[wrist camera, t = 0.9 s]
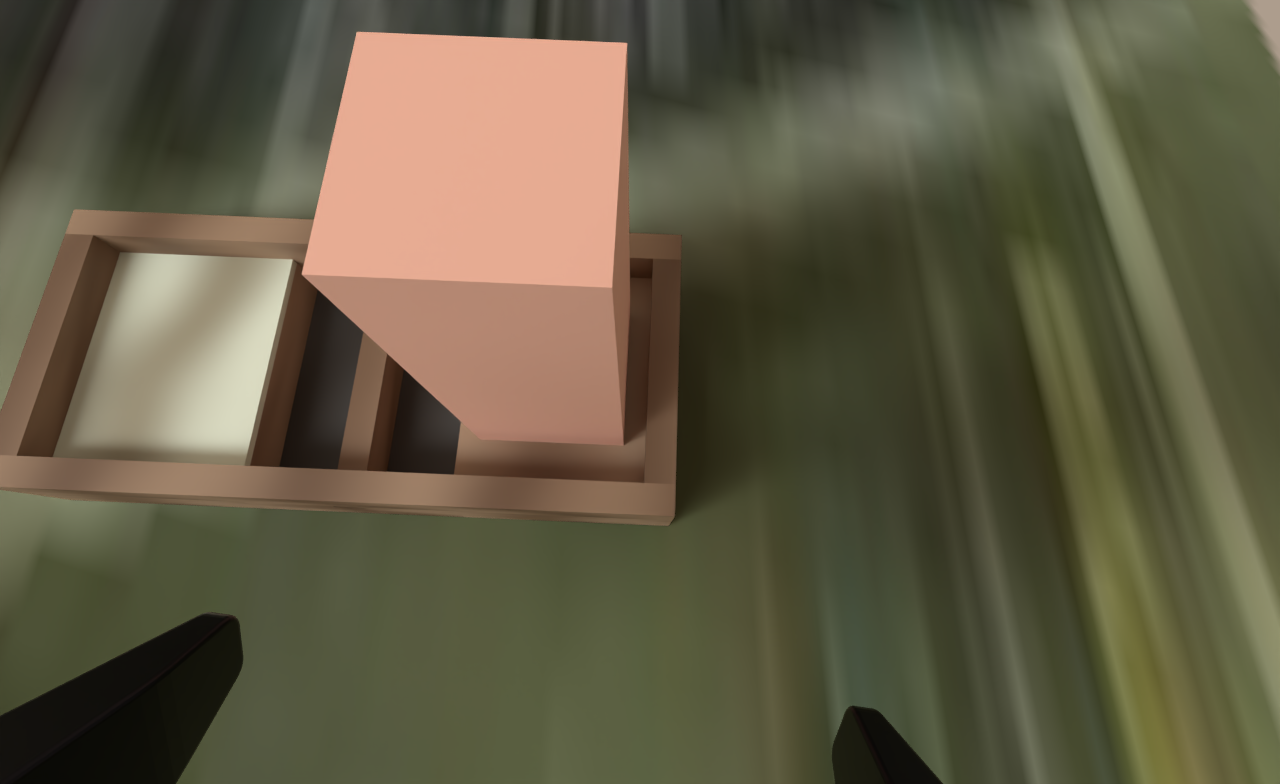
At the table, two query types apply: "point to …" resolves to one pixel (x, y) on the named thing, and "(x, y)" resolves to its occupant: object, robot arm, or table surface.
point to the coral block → (486, 226)
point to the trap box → (295, 389)
